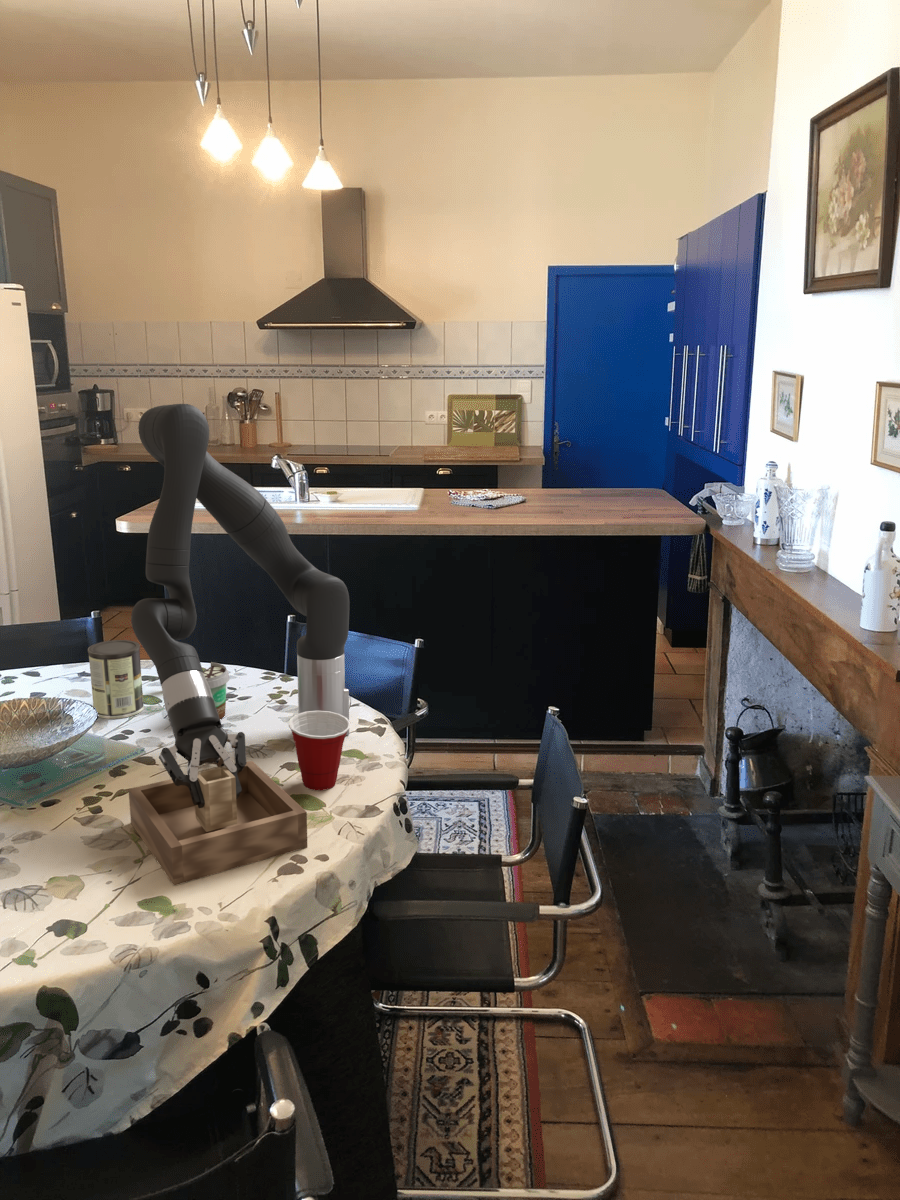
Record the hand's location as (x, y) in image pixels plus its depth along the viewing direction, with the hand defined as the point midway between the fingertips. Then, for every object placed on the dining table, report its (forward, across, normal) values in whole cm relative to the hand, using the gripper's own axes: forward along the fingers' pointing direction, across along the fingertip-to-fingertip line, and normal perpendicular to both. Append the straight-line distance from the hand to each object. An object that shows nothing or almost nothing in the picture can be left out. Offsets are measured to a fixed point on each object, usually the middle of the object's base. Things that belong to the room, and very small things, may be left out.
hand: (219, 801), depth 148 cm
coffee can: (-40, +1, +50) cm, 64 cm away
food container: (-30, +17, +40) cm, 53 cm away
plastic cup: (-2, +22, +12) cm, 25 cm away
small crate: (+2, 0, +4) cm, 5 cm away
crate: (+3, 0, +6) cm, 7 cm away
